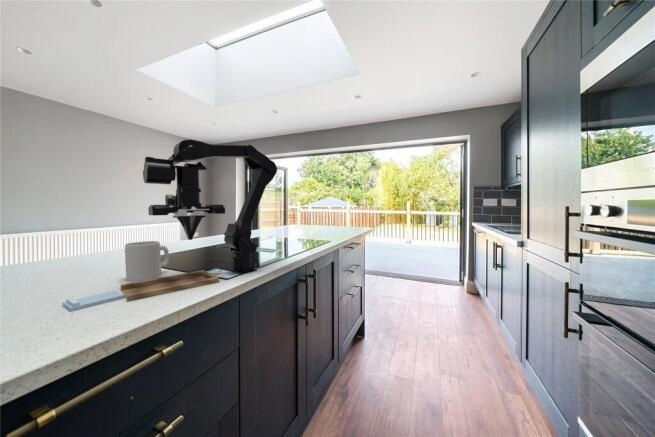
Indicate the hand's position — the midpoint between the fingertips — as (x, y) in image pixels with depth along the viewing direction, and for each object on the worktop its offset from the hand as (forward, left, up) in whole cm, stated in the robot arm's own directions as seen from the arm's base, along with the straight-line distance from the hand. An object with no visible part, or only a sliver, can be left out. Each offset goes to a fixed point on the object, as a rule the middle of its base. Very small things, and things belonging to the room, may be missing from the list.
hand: (190, 239), depth 74 cm
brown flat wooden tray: (+6, +4, -12) cm, 14 cm away
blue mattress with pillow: (+21, +5, -12) cm, 25 cm away
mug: (+8, -12, -12) cm, 19 cm away
